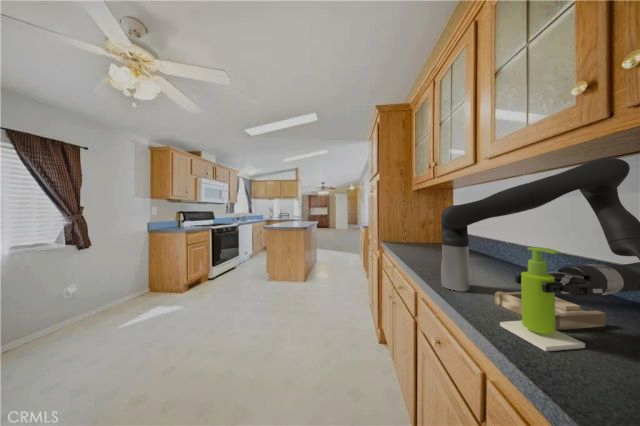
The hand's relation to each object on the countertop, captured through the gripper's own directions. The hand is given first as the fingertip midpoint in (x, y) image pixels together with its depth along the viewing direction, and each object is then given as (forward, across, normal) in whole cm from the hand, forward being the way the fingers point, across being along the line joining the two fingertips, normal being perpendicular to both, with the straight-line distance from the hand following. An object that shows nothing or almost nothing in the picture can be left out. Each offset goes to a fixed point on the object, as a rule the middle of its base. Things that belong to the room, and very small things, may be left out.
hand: (529, 283), depth 54 cm
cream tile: (-2, 0, +13) cm, 13 cm away
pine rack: (-16, -10, +13) cm, 23 cm away
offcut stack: (-21, -10, +13) cm, 27 cm away
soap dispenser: (-3, 0, +11) cm, 12 cm away
